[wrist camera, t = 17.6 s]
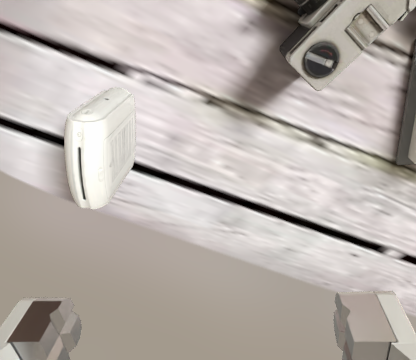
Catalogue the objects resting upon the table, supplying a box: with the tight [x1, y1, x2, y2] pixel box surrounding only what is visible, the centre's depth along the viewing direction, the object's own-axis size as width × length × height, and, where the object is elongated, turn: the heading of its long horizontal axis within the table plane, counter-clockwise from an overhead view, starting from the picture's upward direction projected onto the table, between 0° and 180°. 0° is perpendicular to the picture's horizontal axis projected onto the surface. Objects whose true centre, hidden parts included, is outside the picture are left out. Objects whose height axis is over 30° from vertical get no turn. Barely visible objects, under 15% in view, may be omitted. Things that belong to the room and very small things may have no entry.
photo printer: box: [64, 87, 136, 210], centre depth 37 cm, size 10×4×12 cm, turn 174°
